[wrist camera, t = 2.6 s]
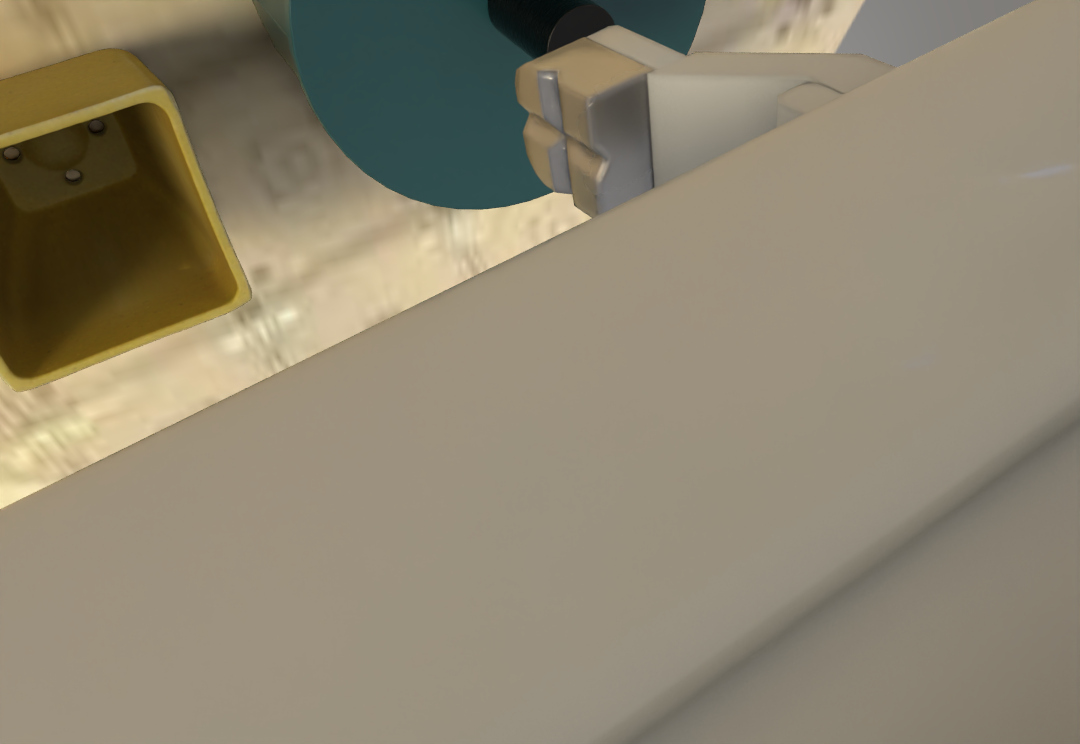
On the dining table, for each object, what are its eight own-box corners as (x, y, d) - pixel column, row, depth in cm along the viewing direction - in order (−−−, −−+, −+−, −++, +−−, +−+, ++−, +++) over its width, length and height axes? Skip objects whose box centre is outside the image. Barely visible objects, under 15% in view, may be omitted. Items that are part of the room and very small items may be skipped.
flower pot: (-137, 62, 34) (-136, 181, 28) (117, -11, 36) (169, 83, 30) (-10, 265, 40) (13, 398, 34) (200, 191, 42) (257, 303, 36)
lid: (575, -416, 29) (683, -406, 25) (751, 6, 42) (841, 56, 38) (166, -35, 30) (210, 30, 26) (457, 268, 42) (516, 343, 39)
